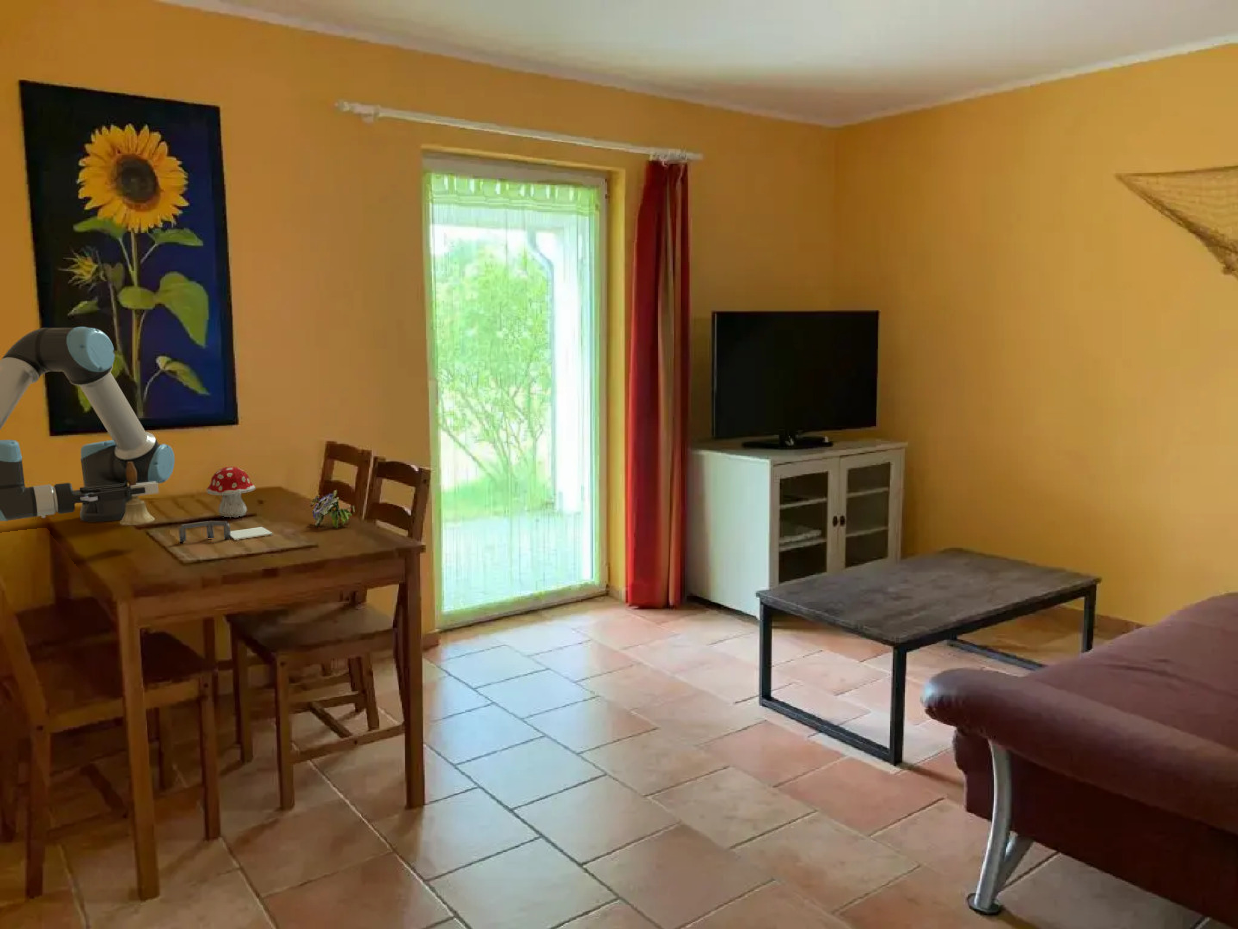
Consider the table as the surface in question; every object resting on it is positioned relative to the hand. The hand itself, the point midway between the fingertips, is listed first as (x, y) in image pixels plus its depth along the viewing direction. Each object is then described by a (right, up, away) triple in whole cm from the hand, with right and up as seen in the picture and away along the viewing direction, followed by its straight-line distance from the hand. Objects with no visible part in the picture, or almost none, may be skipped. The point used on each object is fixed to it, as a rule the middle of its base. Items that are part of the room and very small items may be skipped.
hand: (156, 487), depth 254 cm
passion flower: (+40, -12, +23) cm, 47 cm away
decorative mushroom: (+6, -10, +36) cm, 38 cm away
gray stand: (+11, -15, +5) cm, 19 cm away
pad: (+20, -13, +11) cm, 26 cm away
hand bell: (-4, -9, -2) cm, 10 cm away
